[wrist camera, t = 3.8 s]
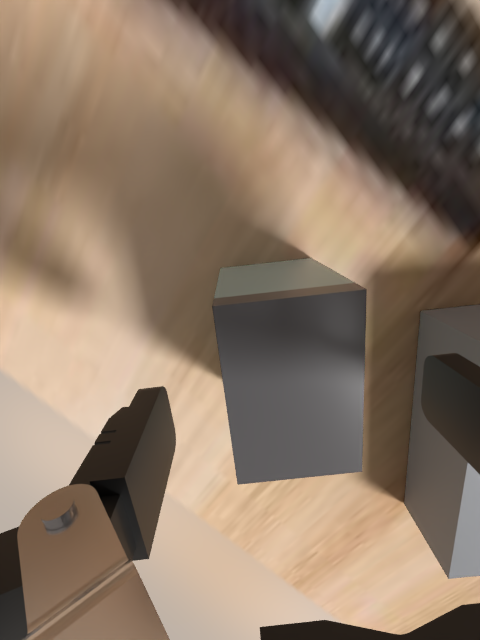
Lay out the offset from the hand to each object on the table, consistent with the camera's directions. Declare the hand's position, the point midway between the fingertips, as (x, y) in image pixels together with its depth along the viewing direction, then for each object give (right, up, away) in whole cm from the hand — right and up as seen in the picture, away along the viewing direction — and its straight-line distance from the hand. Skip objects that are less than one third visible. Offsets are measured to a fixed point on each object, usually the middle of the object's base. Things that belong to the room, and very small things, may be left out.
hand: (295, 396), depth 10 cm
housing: (0, +2, +5) cm, 5 cm away
